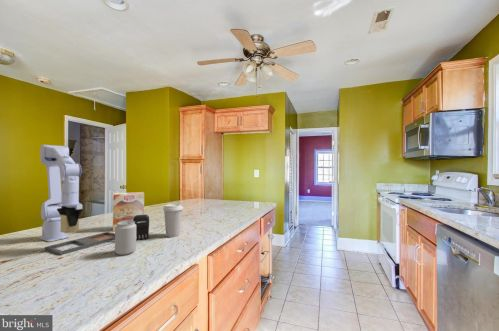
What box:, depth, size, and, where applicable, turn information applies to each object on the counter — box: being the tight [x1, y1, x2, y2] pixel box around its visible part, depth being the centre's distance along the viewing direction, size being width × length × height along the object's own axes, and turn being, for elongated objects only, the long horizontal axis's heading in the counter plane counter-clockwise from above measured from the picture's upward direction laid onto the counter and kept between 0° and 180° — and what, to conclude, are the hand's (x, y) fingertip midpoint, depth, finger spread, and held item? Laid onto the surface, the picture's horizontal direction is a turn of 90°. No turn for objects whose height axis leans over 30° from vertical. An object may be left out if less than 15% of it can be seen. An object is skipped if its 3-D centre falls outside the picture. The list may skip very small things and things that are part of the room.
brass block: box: [60, 214, 80, 234], centre depth 96 cm, size 4×4×7 cm
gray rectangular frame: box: [44, 231, 115, 256], centre depth 102 cm, size 12×25×1 cm, turn 153°
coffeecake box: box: [112, 191, 145, 232], centre depth 127 cm, size 15×7×20 cm, turn 119°
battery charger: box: [133, 213, 150, 241], centre depth 108 cm, size 7×4×11 cm, turn 119°
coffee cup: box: [162, 203, 184, 238], centre depth 115 cm, size 10×10×15 cm
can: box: [114, 221, 137, 256], centre depth 91 cm, size 8×8×12 cm
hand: (69, 225), depth 96 cm, fingers closed on brass block, 4 cm apart
